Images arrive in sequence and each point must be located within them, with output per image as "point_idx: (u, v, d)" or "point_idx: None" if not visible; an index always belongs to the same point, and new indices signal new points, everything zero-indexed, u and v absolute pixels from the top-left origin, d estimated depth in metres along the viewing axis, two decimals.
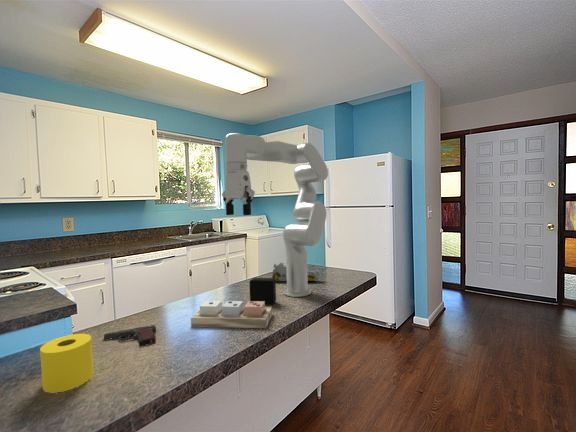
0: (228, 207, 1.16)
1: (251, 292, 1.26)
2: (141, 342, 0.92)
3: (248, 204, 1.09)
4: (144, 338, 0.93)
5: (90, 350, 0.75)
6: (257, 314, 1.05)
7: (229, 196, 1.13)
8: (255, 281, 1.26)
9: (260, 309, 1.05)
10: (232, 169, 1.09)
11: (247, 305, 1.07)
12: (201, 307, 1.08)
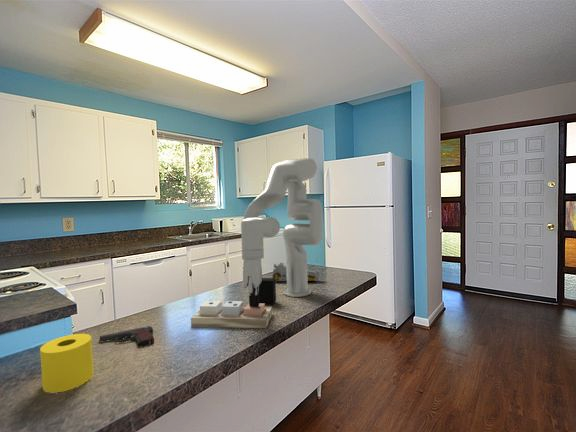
0: None
1: None
2: (139, 343, 0.91)
3: None
4: (142, 339, 0.92)
5: (90, 350, 0.75)
6: None
7: (258, 284, 1.05)
8: None
9: (260, 311, 1.05)
10: None
11: (247, 307, 1.07)
12: (201, 307, 1.08)
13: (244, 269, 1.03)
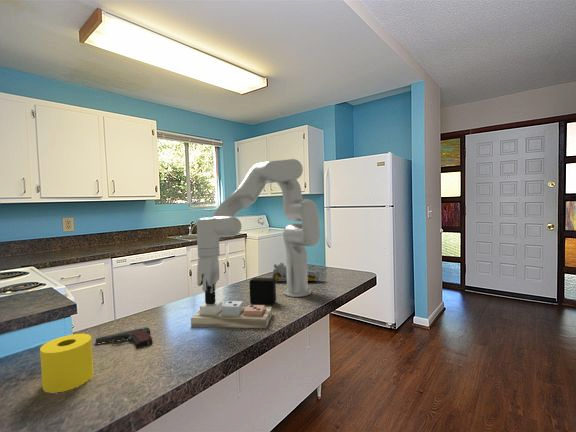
0: None
1: (251, 292, 1.26)
2: (138, 344, 0.91)
3: None
4: (141, 340, 0.92)
5: (90, 350, 0.75)
6: None
7: (213, 282, 1.07)
8: (255, 281, 1.26)
9: (260, 313, 1.05)
10: None
11: (247, 309, 1.07)
12: (201, 307, 1.08)
13: (198, 267, 1.05)
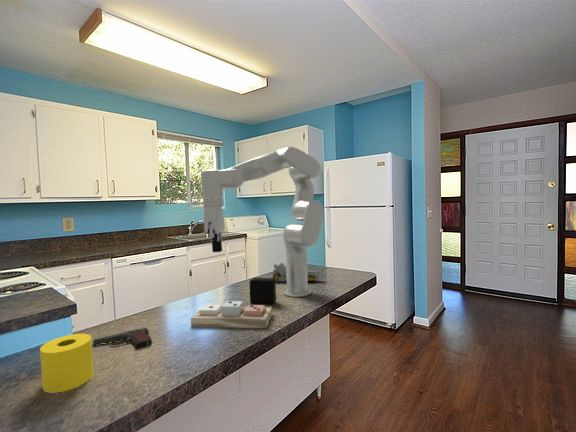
0: None
1: (251, 292, 1.26)
2: (137, 345, 0.90)
3: None
4: (140, 340, 0.91)
5: (90, 350, 0.75)
6: None
7: (219, 230, 1.13)
8: (255, 281, 1.26)
9: (260, 313, 1.05)
10: None
11: (247, 309, 1.07)
12: (201, 311, 1.08)
13: (205, 216, 1.11)
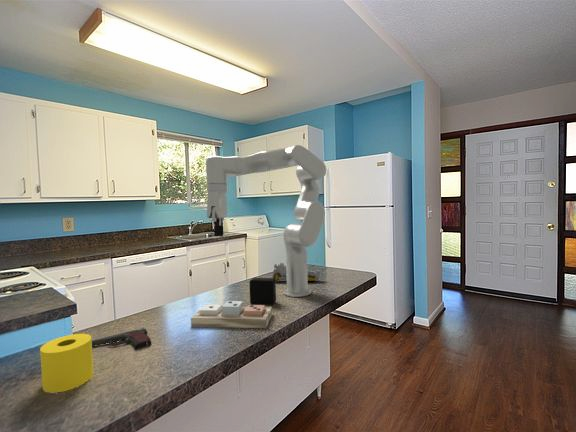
0: None
1: (251, 292, 1.26)
2: (137, 345, 0.90)
3: None
4: (139, 341, 0.91)
5: (90, 350, 0.75)
6: None
7: (221, 215, 1.17)
8: (255, 281, 1.26)
9: (260, 313, 1.05)
10: None
11: (247, 309, 1.07)
12: (201, 311, 1.08)
13: (208, 200, 1.15)
